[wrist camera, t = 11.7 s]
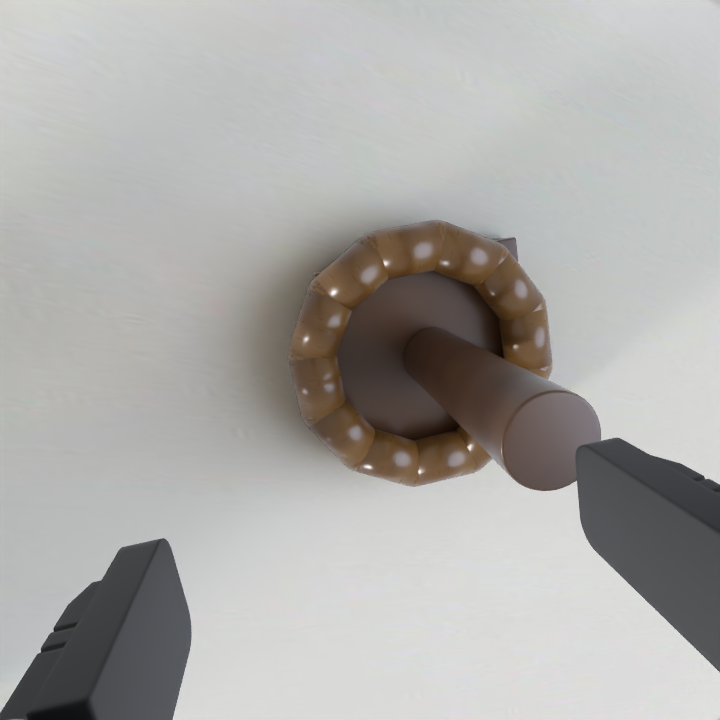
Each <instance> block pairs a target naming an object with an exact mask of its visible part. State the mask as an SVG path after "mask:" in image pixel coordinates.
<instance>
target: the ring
mask: <svg viewBox="0 0 720 720" xmlns="http://www.w3.org/2000/svg"><path fill="white" fill-rule="evenodd" d="M429 271H435V272H437V273H440V274H443V275H445V276H448V277H451V278H454V279H456V280H459V281H462V282H465V283H467V284H470V285H473V286H474V288H475V289H476V290H477V291H478V293H479V294H480V295H481V297H482V298H483V299H484V300H485V302H486V303H487V304H488V305H489V307H490V308H491V309H492V311H493V312H494V313H495V314H496V316H497V317H498V318H499V324H500V332H501V340H502V347H503V355H504V359H506V360H508V361H510V362H512V363H514V364H516V365H518V366H520V367H522V368H524V369H526V370H528V371H530V372H532V373H534V374H536V375H538V376H540V377H542V378H544V379H546V380H548V378H549V376H550V373H551V370H552V354H551V345H550V335H549V326H548V316H547V307H546V302H545V299H544V297H543V296H542V294H541V293H540V292H539V290H538V289H537V288H536V286H535V285H534V284H533V282H532V281H531V280H530V278H529V277H528V276H527V274H526V273H525V272H524V270H523V269H522V268H521V266H520V265H519V263H518V262H517V261H516V259H515V258H514V257H513V255H512V254H511V253H510V251H509V250H508V249H507V248H506V247H505V246H504V245H502V244H501V243H498V242H496V241H493V240H491V239H488V238H486V237H483V236H480V235H478V234H475V233H473V232H470V231H468V230H465V229H462V228H460V227H457V226H455V225H452V224H449V223H447V222H444V221H440V220H431V221H426V222H421V223H415V224H410V225H405V226H399V227H394V228H389V229H384V230H378V231H373V232H369V233H367V234H365V235H363V236H362V237H361V238H359V239H358V240H357V241H356V242H355V243H354V244H353V245H352V246H350V247H349V248H348V249H347V250H346V251H345V252H344V253H343V254H341V255H340V256H339V257H338V258H337V259H336V260H335V261H333V262H332V263H331V264H330V265H329V266H328V267H327V268H326V269H324V270H323V271H322V272H321V273H320V274H319V275H318V276H317V277H315V278H314V279H313V280H312V282H311V283H310V285H309V287H308V290H307V293H306V296H305V299H304V302H303V305H302V308H301V311H300V314H299V317H298V320H297V323H296V326H295V329H294V332H293V335H292V338H291V341H290V344H289V348H288V359H289V364H290V368H291V373H292V377H293V382H294V386H295V391H296V395H297V400H298V404H299V409H300V413H301V417H302V419H303V421H304V423H305V424H306V425H307V426H308V427H309V428H310V429H311V430H312V431H313V432H314V433H315V435H316V436H317V437H318V438H319V439H320V440H321V441H322V442H323V443H324V444H325V445H326V446H327V447H328V448H329V449H330V450H331V451H332V452H333V453H334V454H335V455H336V456H337V457H338V458H339V459H340V461H341V462H342V463H343V464H344V465H345V466H346V467H348V468H349V469H351V470H353V471H356V472H360V473H363V474H367V475H370V476H374V477H378V478H381V479H385V480H388V481H392V482H396V483H399V484H403V485H406V486H412V487H415V486H421V485H425V484H429V483H433V482H438V481H442V480H446V479H450V478H454V477H459V476H463V475H467V474H471V473H475V472H477V471H479V470H480V469H481V468H483V467H484V466H485V465H486V464H487V463H488V462H490V461H491V460H492V459H493V458H492V457H491V456H490V455H489V454H488V453H487V452H486V451H485V450H484V449H483V448H482V447H481V446H480V445H479V444H478V443H477V442H476V441H475V440H474V439H473V438H472V437H471V436H470V435H469V434H468V433H467V432H466V431H465V430H464V429H463V428H462V427H461V426H460V427H459V428H457V429H456V430H455V431H451V432H446V433H442V434H438V435H433V436H429V437H425V438H420V439H416V440H411V439H408V438H405V437H401V436H398V435H395V434H391V433H388V432H384V431H381V430H378V429H374V428H373V427H372V426H371V425H370V424H369V423H368V422H367V420H366V419H365V418H364V417H363V416H362V415H361V414H360V413H359V412H358V411H357V410H356V409H355V407H354V406H353V405H352V404H351V403H350V402H349V401H348V400H347V399H346V397H345V392H344V387H343V382H342V377H341V372H340V367H339V362H338V357H337V354H338V351H339V348H340V345H341V342H342V339H343V336H344V333H345V330H346V328H347V325H348V322H349V319H350V316H351V313H352V311H353V310H354V309H355V308H356V307H357V306H358V305H360V304H361V303H362V302H363V301H364V300H365V299H366V298H368V297H369V296H370V295H371V294H372V293H373V292H374V291H375V290H377V289H378V288H379V287H380V286H381V285H382V284H383V283H385V282H386V281H387V280H389V279H394V278H399V277H404V276H409V275H414V274H419V273H424V272H429Z"/></svg>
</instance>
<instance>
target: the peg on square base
mask: <svg viewBox="0 0 720 720" xmlns="http://www.w3.org/2000/svg"><path fill="white" fill-rule="evenodd" d="M493 241H496V242H498V243H501V244H502V245H504V246H505V247H506V248H507V249H508V250H509V251H510V253H511V254H512V255H513V257H514V258H515V259H516V261H517V262H518V257H517V247H516V239H515V238H514V237H512V238H502V239H496V240H493ZM321 272H322V271H320V272H315V273H313V277H314V278H315V277H317V276H318V275H319V274H320V273H321ZM337 357H338V362H339V367H340V372H341V377H342V382H343V387H344V392H345V397H346V399H347V400H348V401H349V402H350V403H351V404H352V405H353V406H354V407H355V409H356V410H357V411H358V412H359V413H360V414H361V415H362V416H363V417H364V418H365V419H366V420H367V422H368V423H369V424H370V425H371V426H372V427H373V428H374V429H378V430H381V431H384V432H388V433H391V434H395V435H398V436H401V437H405V438H408V439H411V440H416V439H420V438H425V437H429V436H433V435H438V434H442V433H446V432H451V431H455V430H456V429H457V428H459V427H460V426H461V427H462V428H463V429H464V430H465V431H466V432H467V433H468V434H469V435H470V436H471V437H472V438H473V439H474V440H475V441H476V442H477V443H478V444H479V445H480V446H481V447H482V448H483V449H484V450H485V451H486V452H487V453H488V454H489V455H490V456H491V457H492V458H493V459H494V460H495V461H496V462H497V463H498V464H499V465H500V466H501V467H502V468H503V469H504V470H505V471H506V472H507V473H508V474H509V475H510V476H511V477H512V478H513V479H514V480H515V481H516V482H518V483H519V484H521V485H522V486H524V487H527V488H529V489H533V490H540V491H551V490H557V489H560V488H563V487H565V486H568V485H570V484H571V483H573V482H575V481H576V480H577V473H576V462H575V455H576V450H577V448H578V447H579V446H581V445H585V444H590V443H594V442H599V441H600V440H601V429H600V424H599V420H598V417H597V415H596V413H595V411H594V409H593V408H592V406H591V405H590V404H589V403H588V402H587V401H586V400H585V399H583V398H582V397H580V396H579V395H577V394H575V393H573V392H571V391H569V390H567V389H565V388H563V387H561V386H559V385H557V384H555V383H553V382H551V381H548V380H546V379H544V378H542V377H540V376H538V375H536V374H534V373H532V372H530V371H528V370H526V369H524V368H522V367H520V366H518V365H516V364H514V363H512V362H510V361H508V360H506V359H504V355H503V347H502V340H501V332H500V324H499V318H498V317H497V316H496V314H495V313H494V312H493V311H492V309H491V308H490V307H489V305H488V304H487V303H486V302H485V300H484V299H483V298H482V297H481V295H480V294H479V293H478V291H477V290H476V289H475V288H474V286H473V285H470V284H467V283H465V282H462V281H459V280H456V279H454V278H451V277H448V276H445V275H443V274H440V273H437V272H435V271H429V272H424V273H419V274H414V275H409V276H404V277H399V278H394V279H389V280H387V281H386V282H385V283H383V284H382V285H381V286H380V287H379V288H378V289H377V290H375V291H374V292H373V293H372V294H371V295H370V296H369V297H368V298H366V299H365V300H364V301H363V302H362V303H361V304H360V305H358V306H357V307H356V308H355V309H354V310H353V311H352V313H351V316H350V319H349V322H348V325H347V328H346V330H345V333H344V336H343V339H342V342H341V345H340V348H339V351H338V354H337Z"/></svg>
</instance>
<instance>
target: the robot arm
mask: <svg viewBox="0 0 720 720" xmlns="http://www.w3.org/2000/svg"><path fill="white" fill-rule="evenodd" d="M575 462H576V473H577V485H578V497H579V509H580V519H581V524H582V527H583V530H584V533H585V535H586V538H587V539H588V541H589V543H590V545H591V546H592V547H593V549H594V550H595V551H596V552H597V553H598V554H599V555H600V556H601V557H602V558H603V559H604V560H605V561H606V562H607V563H608V564H609V565H610V566H611V567H612V568H614V569H615V570H616V571H617V572H618V573H619V574H620V575H621V576H622V577H623V578H624V579H625V580H626V581H627V582H628V583H629V584H630V585H631V586H632V587H633V588H634V589H635V590H636V591H637V592H638V593H639V594H640V595H641V596H642V597H643V598H644V599H645V600H646V601H647V602H648V603H649V604H650V605H651V606H653V607H654V608H655V609H656V610H657V611H658V612H659V613H660V614H661V615H662V616H663V617H664V618H665V619H666V620H667V621H668V622H669V623H670V624H671V625H672V626H673V627H674V628H675V629H676V630H677V631H678V632H679V633H680V634H681V635H682V636H683V637H684V638H685V639H686V640H687V641H688V642H689V643H691V644H692V645H693V646H694V647H695V648H696V649H697V650H698V651H699V652H700V653H701V654H702V655H703V656H704V657H705V658H706V659H707V660H708V661H709V662H710V663H711V664H712V665H713V666H714V667H715V668H716V669H717V670H718V671H719V672H720V485H719V484H717V483H716V482H714V481H712V480H710V479H705V478H704V476H703V475H701V474H699V473H697V472H695V471H693V470H692V469H690V468H688V467H686V466H684V465H682V464H680V463H676V462H673V461H669V460H666V459H662V458H659V457H655V456H652V455H649V454H647V453H645V452H644V451H642V450H640V449H638V448H636V447H635V446H633V445H631V444H629V443H628V442H626V441H624V440H622V439H620V438H612V439H608V440H603V441H599V442H594V443H590V444H585V445H581V446H579V447H578V448H577V450H576V455H575ZM190 646H191V620H190V614H189V609H188V606H187V602H186V599H185V595H184V592H183V588H182V585H181V581H180V578H179V574H178V571H177V567H176V564H175V560H174V556H173V553H172V550H171V547H170V545H169V543H168V541H167V540H166V539H164V538H162V539H158V540H153V541H149V542H144V543H140V544H135V545H131V546H126V547H122V548H121V549H120V550H119V551H118V553H117V554H116V556H115V558H114V560H113V561H112V563H111V565H110V567H109V568H108V570H107V572H106V574H105V576H104V577H103V579H102V580H101V581H97V582H93V583H91V584H90V585H89V586H88V587H87V588H86V589H85V590H84V591H83V592H82V593H81V594H79V595H78V596H77V597H76V598H75V599H74V600H73V601H72V602H71V603H70V604H69V605H68V606H67V608H66V609H65V611H64V612H63V614H62V615H61V617H60V619H59V620H58V622H57V623H56V625H55V627H54V632H53V633H50V635H49V636H48V638H47V639H46V641H45V643H44V644H43V646H42V647H41V653H39V654H37V655H36V657H35V659H34V660H33V662H32V663H31V665H30V667H29V668H28V670H27V671H26V673H25V675H24V676H23V678H22V679H21V681H20V683H19V684H18V686H17V687H16V689H15V691H14V692H13V694H12V695H11V697H10V699H9V700H8V702H7V703H6V705H5V707H4V708H3V710H2V711H1V713H0V720H172V719H173V715H174V711H175V707H176V703H177V699H178V695H179V691H180V687H181V683H182V679H183V675H184V671H185V667H186V663H187V659H188V655H189V651H190Z"/></svg>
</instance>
